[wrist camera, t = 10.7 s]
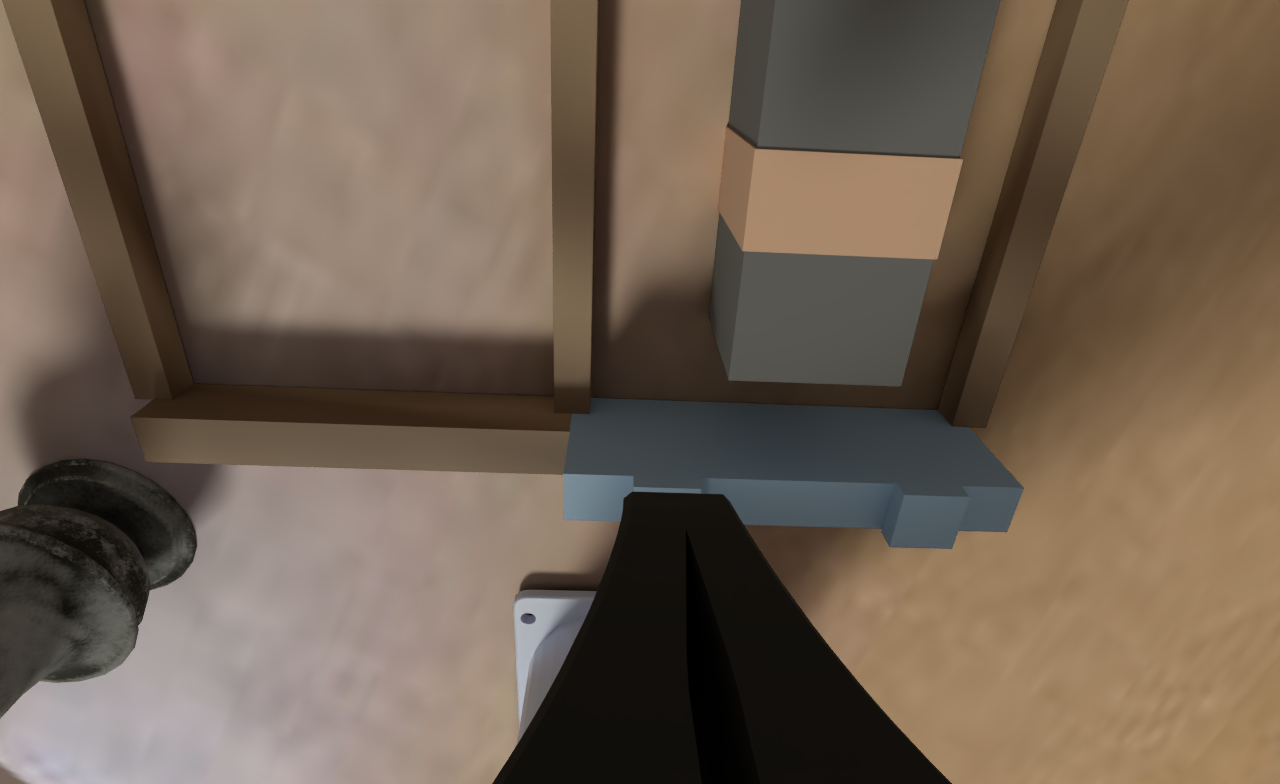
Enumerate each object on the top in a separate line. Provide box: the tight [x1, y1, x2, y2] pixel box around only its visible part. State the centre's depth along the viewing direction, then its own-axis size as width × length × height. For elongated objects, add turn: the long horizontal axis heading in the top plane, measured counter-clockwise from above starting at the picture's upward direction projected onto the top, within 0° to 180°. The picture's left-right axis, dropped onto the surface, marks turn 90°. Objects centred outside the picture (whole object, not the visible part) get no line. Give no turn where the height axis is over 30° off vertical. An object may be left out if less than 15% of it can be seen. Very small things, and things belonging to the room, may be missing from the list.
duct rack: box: [2, 0, 1129, 549], centre depth 15 cm, size 13×24×5 cm, turn 87°
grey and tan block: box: [709, 0, 1000, 387], centre depth 15 cm, size 8×4×4 cm, turn 177°
